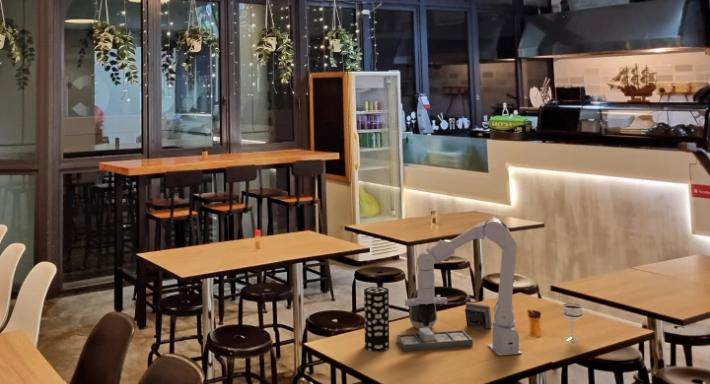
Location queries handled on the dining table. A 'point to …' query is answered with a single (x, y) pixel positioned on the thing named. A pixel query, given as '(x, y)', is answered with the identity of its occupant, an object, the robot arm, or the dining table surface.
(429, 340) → the grey rectangular block
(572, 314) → the wineglass
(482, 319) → the electrical switch
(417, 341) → the rack
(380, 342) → the spotted tube
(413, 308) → the dark egg shaped ornament
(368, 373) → the dining table surface
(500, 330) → the robot arm
